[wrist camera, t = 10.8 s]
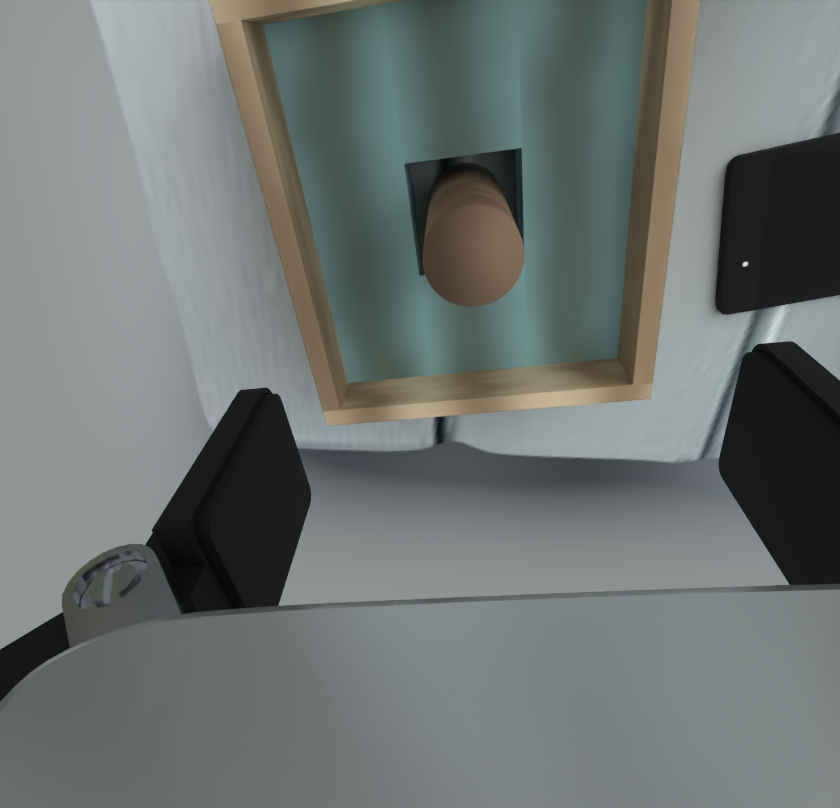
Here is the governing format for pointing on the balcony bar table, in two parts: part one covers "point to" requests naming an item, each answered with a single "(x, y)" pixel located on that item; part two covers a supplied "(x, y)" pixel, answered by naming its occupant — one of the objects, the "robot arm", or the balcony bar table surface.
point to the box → (459, 136)
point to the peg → (471, 238)
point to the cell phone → (780, 226)
